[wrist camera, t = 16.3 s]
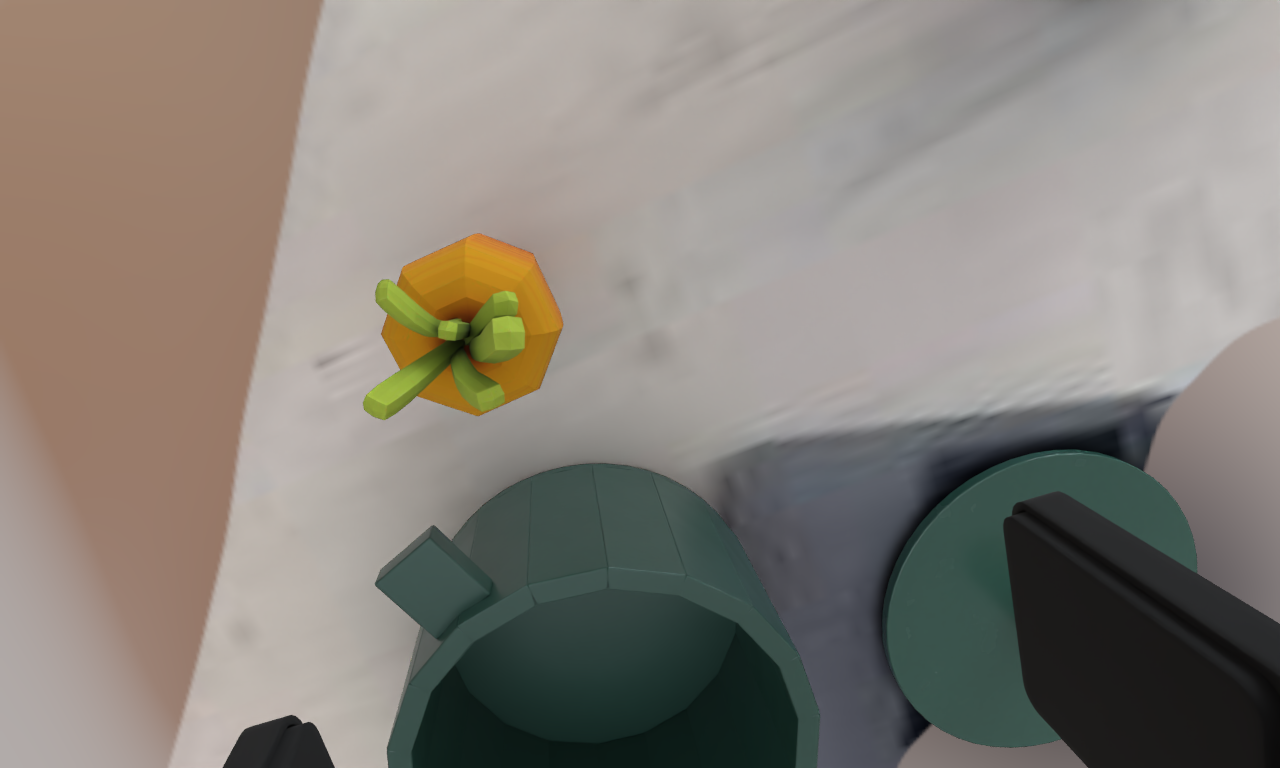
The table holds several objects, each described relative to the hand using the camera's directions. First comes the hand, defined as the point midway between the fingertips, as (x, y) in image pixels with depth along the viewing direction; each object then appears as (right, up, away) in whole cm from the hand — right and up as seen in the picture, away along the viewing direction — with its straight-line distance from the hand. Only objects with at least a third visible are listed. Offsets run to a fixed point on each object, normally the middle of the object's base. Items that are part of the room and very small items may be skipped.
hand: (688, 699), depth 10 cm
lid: (+19, -6, +27) cm, 34 cm away
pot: (-3, -6, +25) cm, 26 cm away
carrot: (-6, +8, +21) cm, 24 cm away
